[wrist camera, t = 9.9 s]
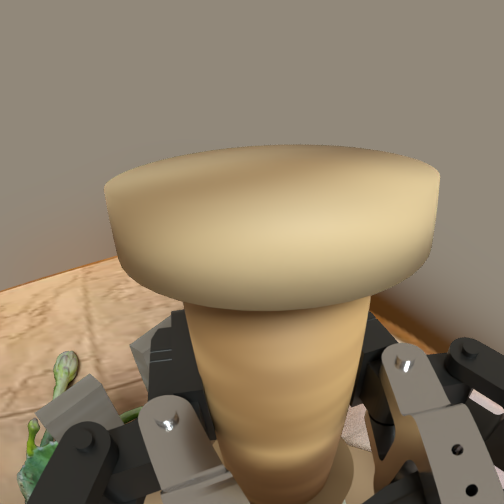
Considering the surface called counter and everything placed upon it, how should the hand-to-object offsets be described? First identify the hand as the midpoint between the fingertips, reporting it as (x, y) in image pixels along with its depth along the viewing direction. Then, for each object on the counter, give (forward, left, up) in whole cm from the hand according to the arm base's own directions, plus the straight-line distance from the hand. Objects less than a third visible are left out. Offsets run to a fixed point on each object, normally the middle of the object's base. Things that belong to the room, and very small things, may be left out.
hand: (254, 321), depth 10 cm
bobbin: (+2, -2, -7) cm, 7 cm away
